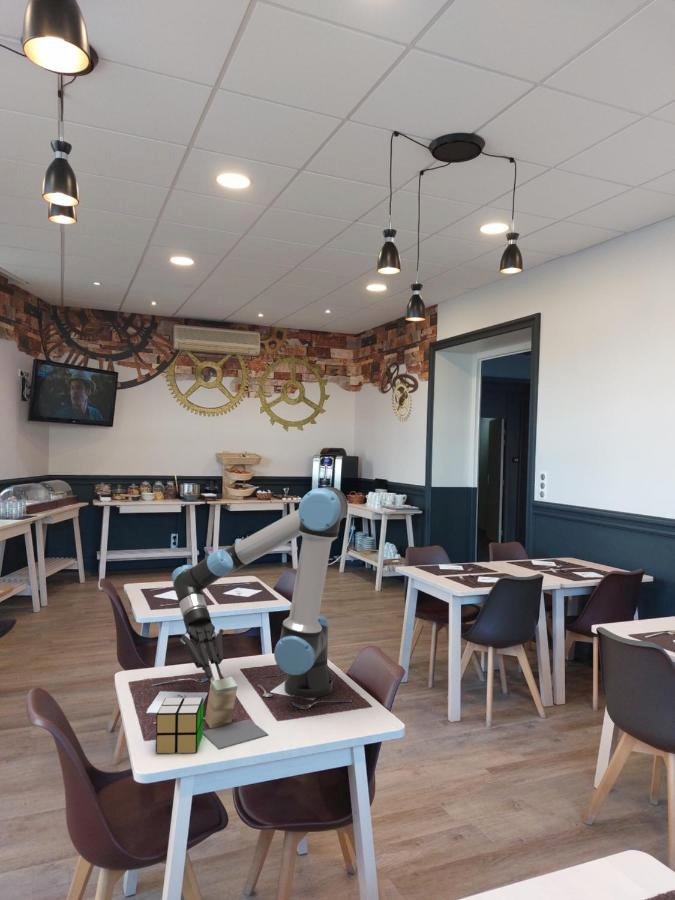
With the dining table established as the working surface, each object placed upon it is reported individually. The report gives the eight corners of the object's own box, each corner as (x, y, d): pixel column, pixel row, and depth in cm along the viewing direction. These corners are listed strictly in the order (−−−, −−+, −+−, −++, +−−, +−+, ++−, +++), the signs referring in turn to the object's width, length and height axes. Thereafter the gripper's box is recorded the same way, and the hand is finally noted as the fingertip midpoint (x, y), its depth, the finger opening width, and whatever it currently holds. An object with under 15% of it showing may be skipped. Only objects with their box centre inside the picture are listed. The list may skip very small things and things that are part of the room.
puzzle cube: (164, 735, 158) (164, 697, 159) (202, 735, 159) (203, 696, 159) (155, 754, 148) (156, 713, 149) (196, 754, 149) (197, 713, 149)
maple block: (225, 713, 169) (231, 676, 167) (230, 723, 166) (237, 685, 163) (204, 718, 166) (211, 681, 163) (210, 728, 163) (216, 690, 160)
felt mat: (249, 720, 168) (249, 719, 168) (268, 735, 159) (268, 734, 159) (201, 732, 160) (201, 731, 160) (218, 749, 151) (218, 748, 151)
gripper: (212, 617, 186) (235, 689, 172) (170, 623, 179) (190, 699, 165) (219, 603, 182) (243, 676, 168) (177, 609, 174) (198, 686, 160)
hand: (217, 687), depth 166 cm, fingers closed
